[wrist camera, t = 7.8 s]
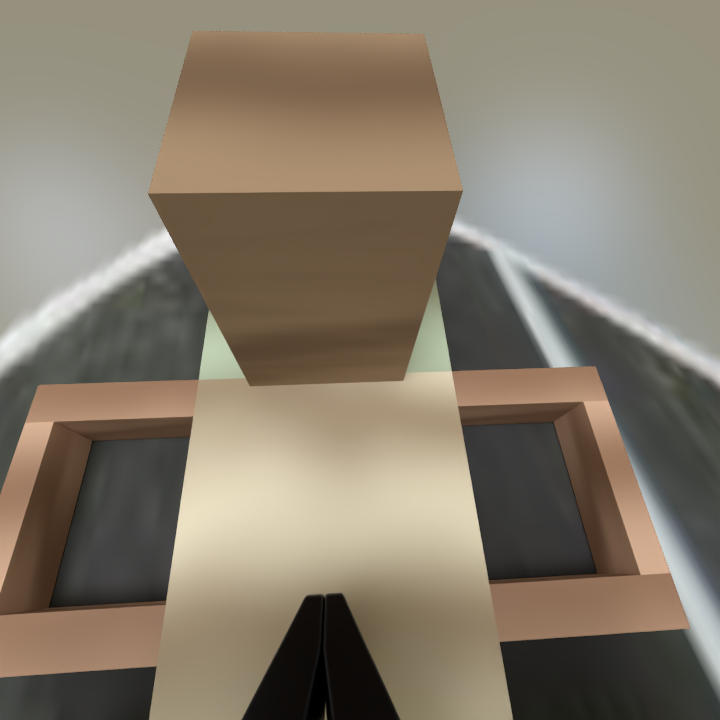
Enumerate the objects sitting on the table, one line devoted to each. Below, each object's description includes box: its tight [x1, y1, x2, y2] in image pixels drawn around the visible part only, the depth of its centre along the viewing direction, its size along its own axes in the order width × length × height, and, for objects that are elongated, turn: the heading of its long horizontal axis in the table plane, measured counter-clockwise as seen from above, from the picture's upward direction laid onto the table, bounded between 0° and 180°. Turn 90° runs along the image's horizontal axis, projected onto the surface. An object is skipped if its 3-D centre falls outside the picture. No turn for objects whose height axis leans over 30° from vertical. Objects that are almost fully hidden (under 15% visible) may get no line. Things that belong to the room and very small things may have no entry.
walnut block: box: [148, 31, 463, 386], centre depth 13 cm, size 6×6×9 cm
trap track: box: [0, 279, 690, 720], centre depth 15 cm, size 26×22×2 cm
